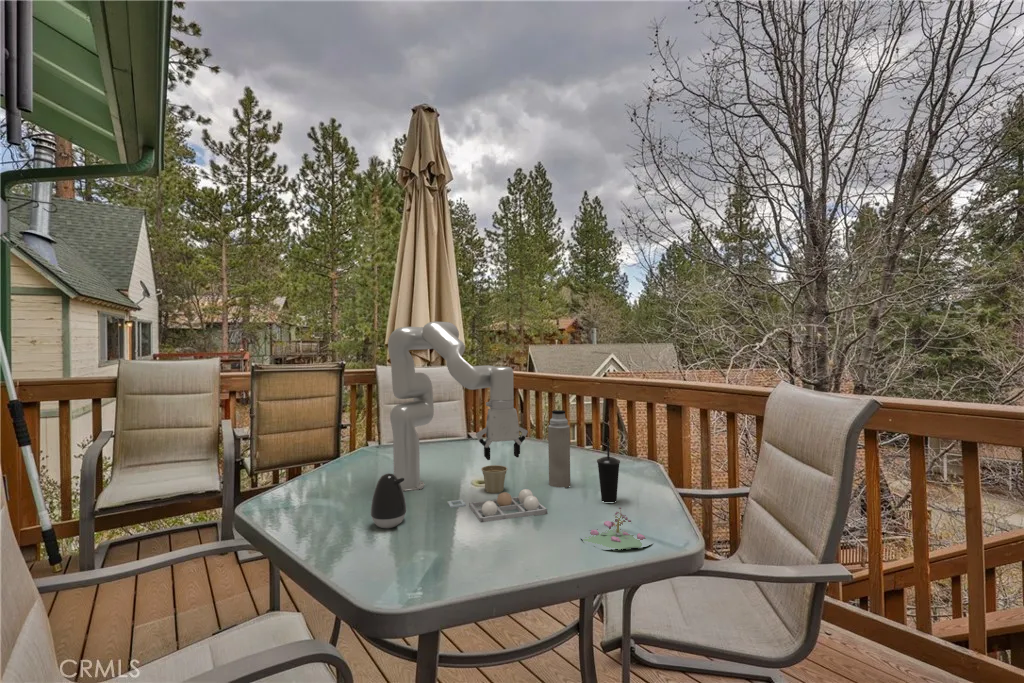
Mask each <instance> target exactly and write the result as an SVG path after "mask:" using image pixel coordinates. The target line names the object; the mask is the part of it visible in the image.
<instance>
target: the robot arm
mask: <svg viewBox="0 0 1024 683" xmlns="http://www.w3.org/2000/svg"><path fill="white" fill-rule="evenodd" d="M459 336H460V332H459V329H458V327H457V326H456V325H455V324H454V323H452V322H450V321H449V322H448V321H430V322H428V323H426V324H424V326H421V327H420V326H403V327H398V328H396V329H395V330H393V331H392V332H391V334H390V336H389V338H388V342H387V349H388V355H389V359H390V368H391V369H390V370H391V383H392V384H391V385H392V386H391V387H392V394H393V395H394V397H395V398H396V399H398V400H408V399H409V400H410V399H413V401H408V402H402V403H399V404H397V405H395V406H394V407H392V409H391V411H390V414H389V421H390V425H391V430H392V441H393V443H392V445H393V446H392V447H393V456H392V458H393V475H395V476H396V477H397V478H398V479H400V478H404V481H403V482H401V483H400V484H401V487H402V489H403V493H407V492H414V491H420V490H422V489H423V488H424V487H425V483H424V481H421V474H420V473H421V472H420V471H421V469H420V466H421V465H420V459H421V458H420V453H421V452H420V438H419V434H418V432H417V430H416V427H421V426H425V425H428V424H429V423H430V422H432V420H433V419H434V415H435V414H434V413H435V409H434V408H435V407H434V392H433V384H432V381H431V378H430V377H429V376H428V375H427V374H426V373H424V372H416V369H415V368H416V367H415V361H414V358H413V356H412V354H411V352H410V351H411V350H412V351H413V350H421V351H422V350H434V351H435V352H436V353H438V354H439V356H441V357H442V358H443V359H444V360H445V362H446V367H447V370H448V373H449V374H450V375H451V377H452V378H453V379H454V380H455V381H456V382H458V384H459V385H461V386H462V387H464V388H465V389H467V390H479V389H487V388H489V389H490V390H489V392H490V393H489V395H490V396H489V398H490V399H489V401H486V402H485V406H486V407H489V409H488V410H487V416H486V422H485V423H486V425H485V426H486V427H484V428H482V429H481V430H480V431H478V432H476V433H475V437H476V438H477V441H478V442H479V443H480V444H481V445H482V446H483V455H484V458H485V459H486V460H487V461H490V460H491V447H490V445H491V444H492V443H493V442H495V443H497V442H510V441H511V442H512V441H513V442H514V443H513V456H514V457H516V458H517V459H518V458H520V454H521V445H522V444H523V442H524V440H526V436H527V435H528V432H529V431H528V430H527V429H526V428H523V427H522V426H520V425H519V418H518V413H517V409H516V408H514V399H515V398H514V369H513V367H510V366H494V365H491V364H490V365H487V364H486V365H472V364H470V363H469V362H468V361H466V359H464V357H463V355H464V353H465V350H466V346H465V343H464V342H463V341H462V340H460V338H459ZM520 432H521V435H520ZM483 435H485V437H486V439H485V440H484V439H483ZM419 489H420V490H419Z"/></svg>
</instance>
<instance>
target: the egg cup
mask: <svg viewBox="0 0 1024 683" xmlns="http://www.w3.org/2000/svg"><path fill="white" fill-rule="evenodd" d="M447 504H448V506H449V508H450V509H452V508H453V509H454V508H461V507H466V506H467V504H466V502H465V501H464V500H463V499H456V500H449V501H448V500H447Z"/></svg>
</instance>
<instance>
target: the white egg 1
mask: <svg viewBox="0 0 1024 683" xmlns="http://www.w3.org/2000/svg"><path fill="white" fill-rule="evenodd" d="M485 501H486V502H485V503H484V504H483V505H482V506H481V509H482V513H483V514H482V515H483V517H487V516H494V515H497V514H498V513H497V506H498V504H495V503H494V502H493V501H488V500H485Z"/></svg>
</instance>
